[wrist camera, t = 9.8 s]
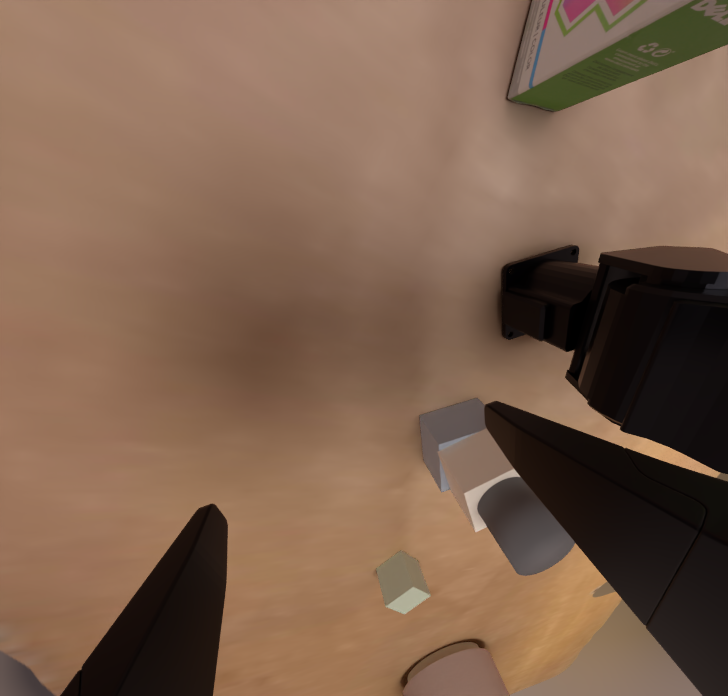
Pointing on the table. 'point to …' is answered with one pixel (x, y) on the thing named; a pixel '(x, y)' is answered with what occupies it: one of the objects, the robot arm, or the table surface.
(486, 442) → the tower top
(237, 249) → the table surface
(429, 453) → the tower base
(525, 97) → the ink box
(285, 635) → the table surface
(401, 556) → the sage block
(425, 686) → the container
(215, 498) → the table surface
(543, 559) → the dark grey cylinder
